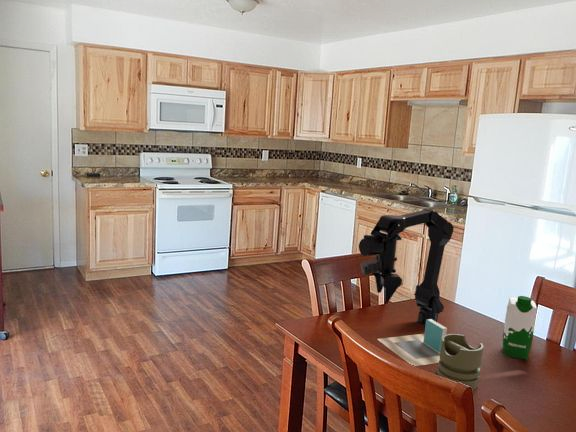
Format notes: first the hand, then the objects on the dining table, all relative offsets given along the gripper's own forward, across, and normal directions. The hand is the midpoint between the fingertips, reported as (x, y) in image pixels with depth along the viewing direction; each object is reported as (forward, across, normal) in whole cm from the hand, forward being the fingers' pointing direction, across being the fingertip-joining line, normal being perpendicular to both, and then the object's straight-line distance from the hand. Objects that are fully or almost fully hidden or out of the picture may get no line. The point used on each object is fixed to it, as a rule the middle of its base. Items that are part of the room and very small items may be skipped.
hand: (382, 297), depth 173 cm
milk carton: (+14, +13, +43) cm, 47 cm away
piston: (+14, +32, +14) cm, 37 cm away
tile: (+13, +12, +15) cm, 23 cm away
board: (+14, +13, +10) cm, 22 cm away
